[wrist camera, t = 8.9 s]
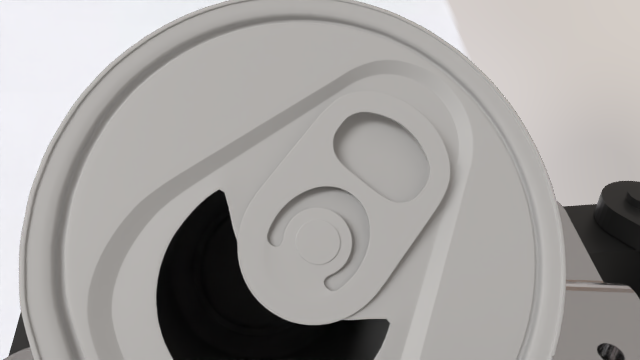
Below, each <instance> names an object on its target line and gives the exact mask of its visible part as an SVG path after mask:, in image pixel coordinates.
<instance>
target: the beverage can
mask: <svg viewBox="0 0 640 360" xmlns="http://www.w3.org/2000/svg"><path fill="white" fill-rule="evenodd" d="M565 293H566V258H565V244H564V237H563V229H562V223H561V218H560V214H559V209H558V204H557V201H556V198H555V194H554V191H553V187H552V184H551V181H550V178H549V176H548V173H547V170H546V168H545V165H544V163H543V161H542V158H541V156H540V154H539V152H538V150H537V147H536V145H535V144H534V142H533V140H532V138H531V136H530V134H529V132H528V131H527V129H526V127H525V126H524V124H523V122H522V121H521V119H520V117H519V116H518V115H517V113H516V111H515V110H514V109H513V107H512V106H511V104H510V103H509V102H508V100H507V99H506V98H505V97H504V95H503V94H502V93H501V92H500V91H499V89H498V88H497V87H496V86H495V85H494V83H493V82H492V81H490V79H489V78H488V77H487V76H486V75H485V74H484V73H483V72H482V71H481V70H480V69H479V68H478V67H477V66H475V65H474V64H473V63H472V62H471V61H470V60H469V59H468V58H467V57H466V56H465V55H463V54H462V53H461V52H460V51H459V50H457V49H456V48H454V47H453V46H452V45H450V44H449V43H447V42H446V41H444V40H443V39H441V38H440V37H438V36H437V35H435V34H434V33H432V32H431V31H429V30H427V29H426V28H424V27H422V26H420V25H418V24H416V23H414V22H412V21H410V20H408V19H406V18H404V17H402V16H400V15H398V14H395V13H393V12H390V11H388V10H385V9H382V8H379V7H376V6H373V5H369V4H366V3H362V2H358V1H354V0H229V1H225V2H222V3H218V4H215V5H212V6H208V7H205V8H202V9H200V10H197V11H195V12H192V13H190V14H187V15H184V16H182V17H180V18H178V19H176V20H174V21H172V22H170V23H168V24H166V25H164V26H162V27H161V28H159V29H157V30H156V31H154V32H152V33H151V34H149V35H147V36H146V37H144V38H143V39H141V40H140V41H139V42H137V43H136V44H134V45H133V46H132V47H130V48H129V49H127V50H126V51H125V52H124V53H122V54H121V55H120V56H119V57H118V58H116V59H115V60H114V61H113V62H111V63H110V64H109V65H108V66H107V67H106V68H105V69H104V70H103V71H102V72H101V73H100V74H99V75H98V76H97V77H96V78H95V79H94V81H93V82H92V83H91V84H90V85H89V86H88V87H87V88H86V89H85V91H84V92H83V93H82V94H81V95H80V97H79V98H78V99H77V101H76V102H75V103H74V104H73V106H72V107H71V109H70V111H69V112H68V114H67V115H66V117H65V118H64V120H63V121H62V123H61V124H60V126H59V128H58V130H57V131H56V133H55V135H54V136H53V138H52V140H51V142H50V144H49V146H48V148H47V150H46V152H45V154H44V156H43V159H42V161H41V164H40V166H39V169H38V171H37V174H36V177H35V179H34V182H33V185H32V188H31V191H30V194H29V198H28V202H27V207H26V212H25V217H24V222H23V228H22V233H21V240H20V250H19V295H20V306H21V313H22V318H23V322H24V326H25V330H26V334H27V337H28V341H29V344H30V347H31V351H32V354H33V358H34V360H552V356H554V355H555V351H556V347H557V343H558V340H559V336H560V330H561V325H562V319H563V313H564V303H565Z"/></svg>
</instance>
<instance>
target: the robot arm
mask: <svg viewBox="0 0 640 360" xmlns="http://www.w3.org/2000/svg"><path fill="white" fill-rule="evenodd" d="M557 204H558V209H559V214H560V218H561V223H562V229H563V237H564V244H565V258H566V293H565V303H564V313H563V319H562V325H561V330H560V336H559V340H558V343H557V347H556V351H555V355H554V356H552V360H640V182H635V181H619V182H614V183H611V184H608V185H607V186H605V188H603V190H602V193H601V195H600V198H599V201H598V203H597V204H595V205H594V204H593V205H581V206H580V205H579V206H566V207H563V206H562V205H561V204H560V203H559V202H557ZM3 360H34V358H33V354H32V351H31V347H30V344H29V341H28V337H27V334H26V330H25V326H24V322H23V318H22V313H21V314H20V317H19V321H18V324H17V328H16V332H15V335H14V339H13V342H12V346H11V350H10V353H9V356H8V357H7V358H5V359H3Z"/></svg>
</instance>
